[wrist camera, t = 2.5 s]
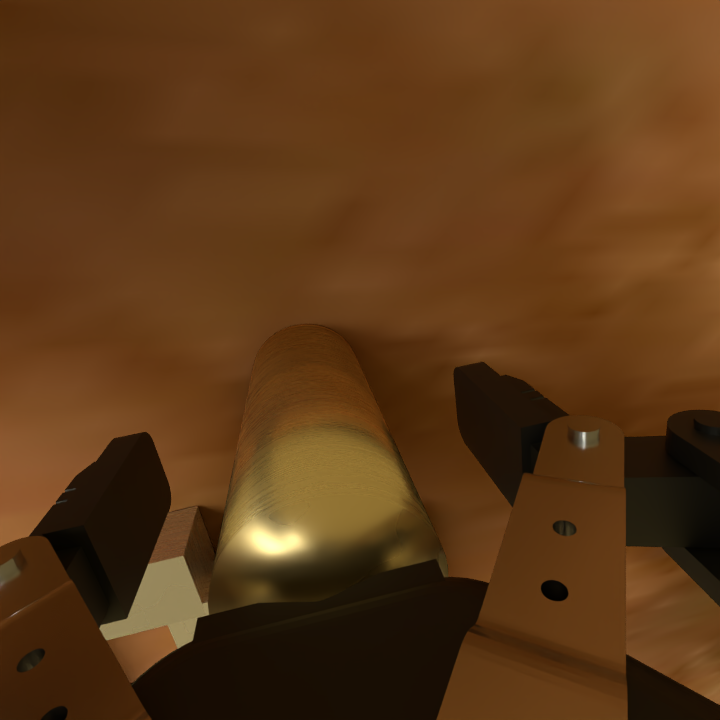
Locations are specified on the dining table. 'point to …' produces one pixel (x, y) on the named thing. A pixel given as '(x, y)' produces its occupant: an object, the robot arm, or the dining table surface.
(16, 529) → the dining table surface
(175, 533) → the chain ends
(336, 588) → the pin
